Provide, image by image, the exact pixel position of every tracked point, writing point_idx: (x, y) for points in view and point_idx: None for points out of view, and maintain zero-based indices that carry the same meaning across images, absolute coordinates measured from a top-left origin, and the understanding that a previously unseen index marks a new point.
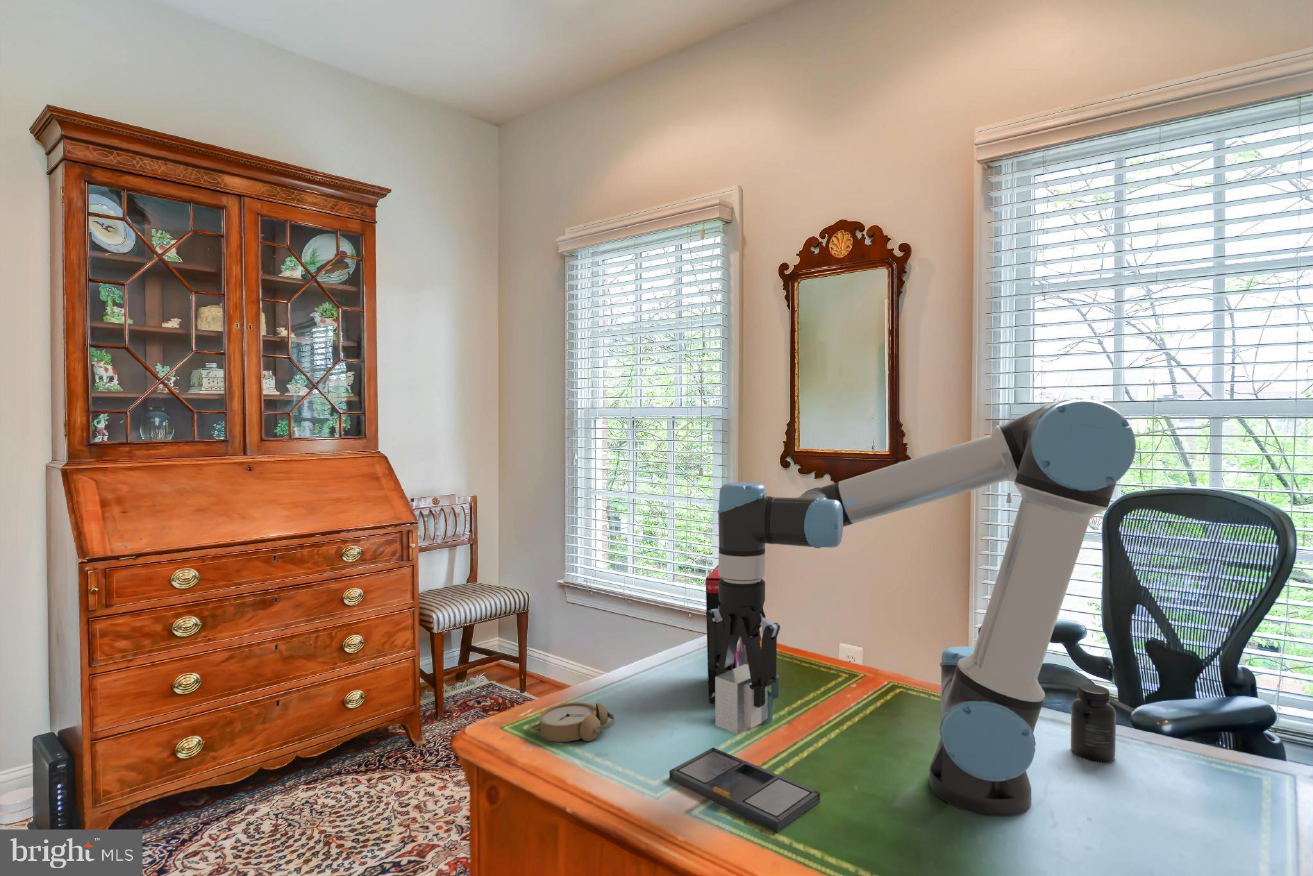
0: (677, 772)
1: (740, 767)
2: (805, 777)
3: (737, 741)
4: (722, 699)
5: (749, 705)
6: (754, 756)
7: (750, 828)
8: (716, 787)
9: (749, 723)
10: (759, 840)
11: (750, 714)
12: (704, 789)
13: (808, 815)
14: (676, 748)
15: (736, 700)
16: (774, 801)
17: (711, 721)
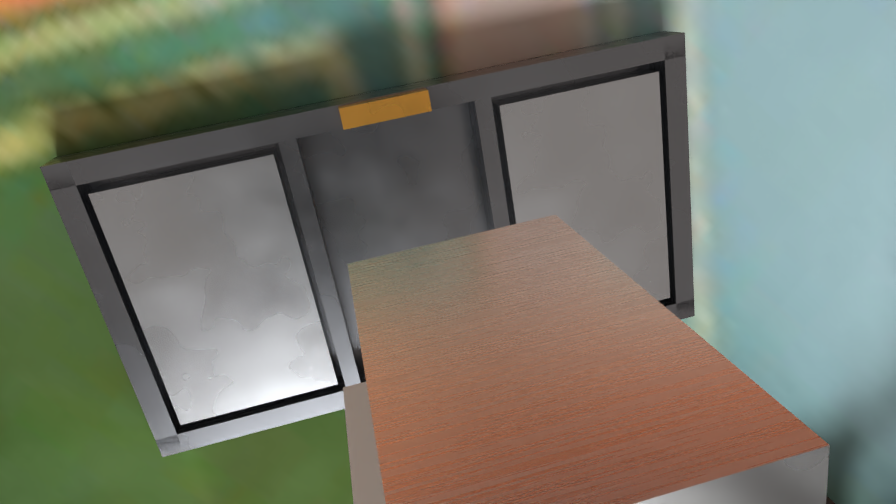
0: (648, 55)
1: None
2: (341, 488)
3: None
4: (571, 332)
5: (374, 497)
6: None
7: (144, 76)
8: (420, 107)
9: (361, 400)
10: (40, 46)
11: (356, 448)
12: (471, 76)
13: (108, 340)
14: (814, 214)
15: (386, 407)
16: (198, 263)
17: (851, 440)
